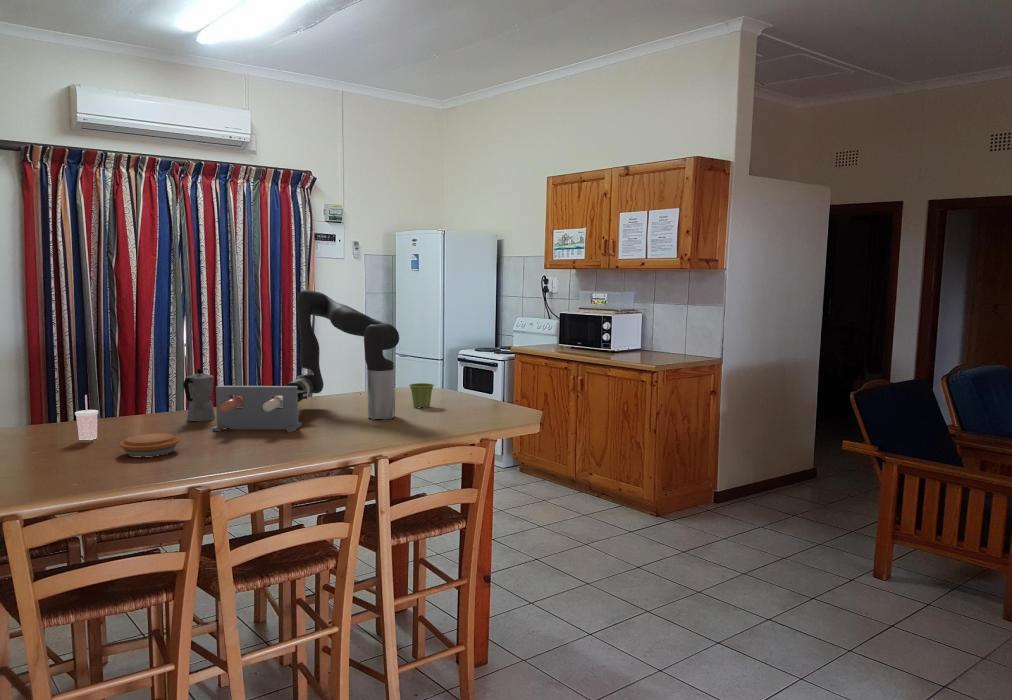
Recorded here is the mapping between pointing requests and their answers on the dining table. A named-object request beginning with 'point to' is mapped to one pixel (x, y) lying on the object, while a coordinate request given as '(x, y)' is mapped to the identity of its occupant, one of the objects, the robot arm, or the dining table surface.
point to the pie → (149, 444)
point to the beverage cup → (87, 423)
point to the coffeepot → (199, 396)
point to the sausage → (232, 403)
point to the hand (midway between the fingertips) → (282, 398)
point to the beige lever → (273, 403)
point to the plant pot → (421, 394)
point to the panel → (258, 408)
